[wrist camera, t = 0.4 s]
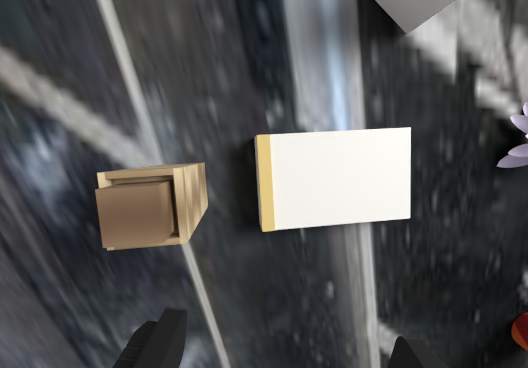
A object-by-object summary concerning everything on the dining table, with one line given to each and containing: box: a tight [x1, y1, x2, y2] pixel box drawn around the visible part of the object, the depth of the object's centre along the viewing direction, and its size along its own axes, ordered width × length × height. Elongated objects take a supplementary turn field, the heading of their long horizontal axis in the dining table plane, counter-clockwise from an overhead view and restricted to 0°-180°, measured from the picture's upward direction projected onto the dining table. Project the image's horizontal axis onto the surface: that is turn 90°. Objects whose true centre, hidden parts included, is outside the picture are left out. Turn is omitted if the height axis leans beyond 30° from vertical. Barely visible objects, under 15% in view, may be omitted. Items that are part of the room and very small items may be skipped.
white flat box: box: [254, 127, 411, 232], centre depth 35 cm, size 12×20×4 cm, turn 93°
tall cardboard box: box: [97, 163, 208, 250], centre depth 28 cm, size 6×6×16 cm
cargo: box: [95, 180, 177, 248], centre depth 20 cm, size 4×4×4 cm
